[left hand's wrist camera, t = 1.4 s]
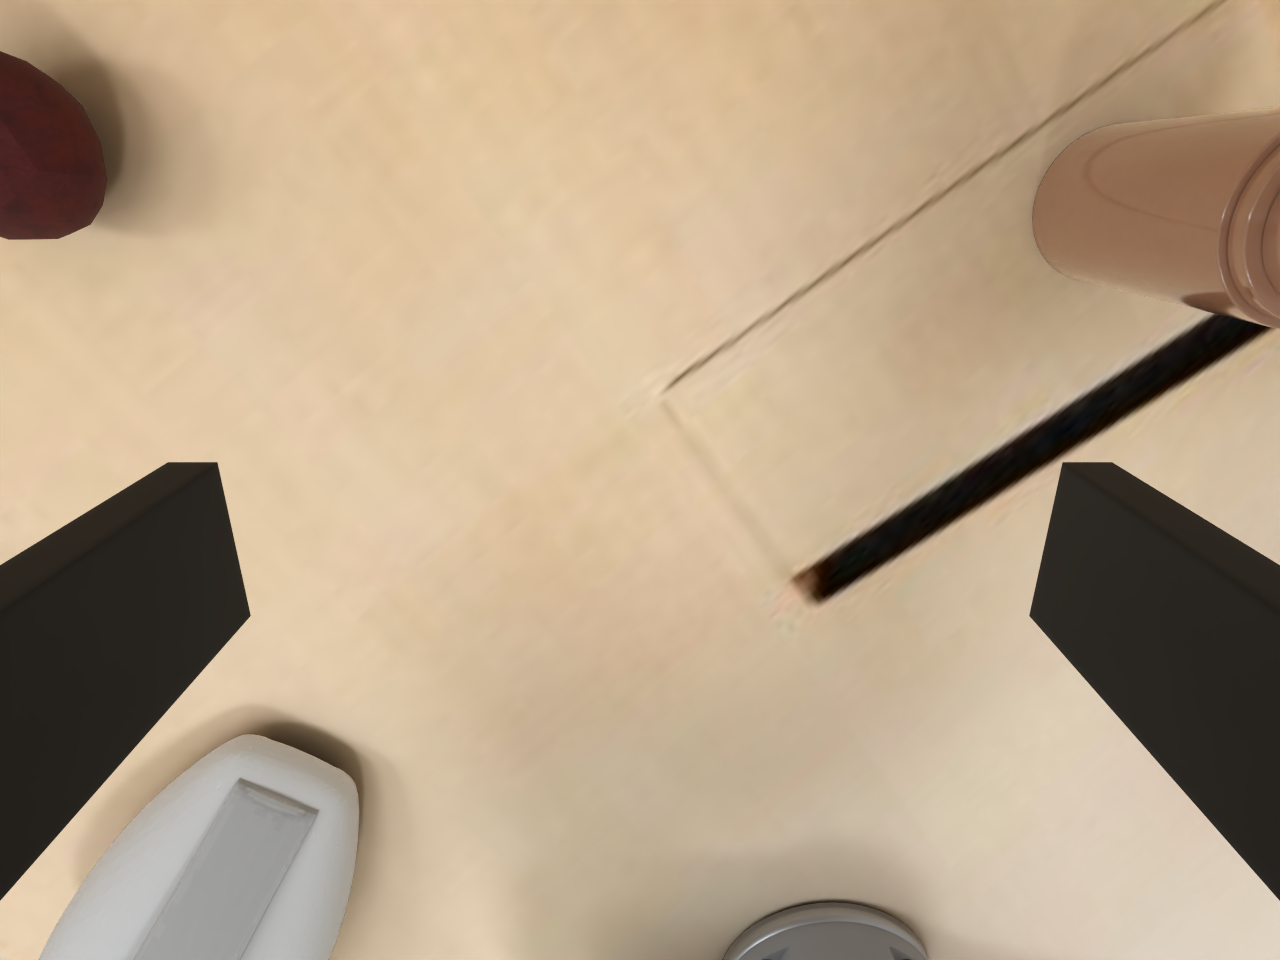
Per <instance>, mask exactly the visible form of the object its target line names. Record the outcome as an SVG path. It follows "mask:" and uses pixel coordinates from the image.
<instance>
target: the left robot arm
mask: <svg viewBox="0 0 1280 960" xmlns="http://www.w3.org/2000/svg"><path fill="white" fill-rule="evenodd" d="M250 616H251V615H250V611H249V606H248V602H247V597H246V592H245V588H244V583H243V579H242V574H241V569H240V565H239V560H238V555H237V551H236V546H235V542H234V537H233V532H232V528H231V523H230V519H229V514H228V509H227V505H226V500H225V496H224V491H223V486H222V482H221V477H220V473H219V468H218V463H217V462H168V463H166V464H165V465H163V466H161V467H160V468H158V469H156V470H155V471H153V472H152V473H150V474H148V475H147V476H145V477H143V478H142V479H140V480H139V481H137V482H135V483H134V484H132V485H130V486H129V487H127V488H125V489H124V490H122V491H121V492H119V493H117V494H116V495H114V496H112V497H111V498H109V499H108V500H106V501H104V502H103V503H101V504H99V505H98V506H96V507H95V508H93V509H91V510H90V511H88V512H86V513H85V514H83V515H81V516H80V517H78V518H77V519H75V520H73V521H72V522H70V523H68V524H67V525H65V526H64V527H62V528H60V529H59V530H57V531H55V532H54V533H52V534H51V535H49V536H47V537H46V538H44V539H42V540H41V541H39V542H37V543H36V544H34V545H33V546H31V547H29V548H28V549H26V550H24V551H23V552H21V553H20V554H18V555H16V556H15V557H13V558H11V559H10V560H8V561H7V562H5V563H3V564H2V565H0V900H1V899H2V898H3V897H4V896H5V895H6V893H7V892H8V891H9V890H10V889H11V888H12V887H13V885H14V884H15V883H16V882H17V881H18V880H19V879H20V877H21V876H22V875H23V874H24V873H25V872H26V871H27V870H28V868H29V867H30V866H31V865H32V864H33V863H34V862H35V860H36V859H37V858H38V857H39V856H40V855H41V854H42V852H43V851H44V850H45V849H46V848H47V847H48V846H49V844H50V843H51V842H52V841H53V840H54V839H55V838H56V837H57V835H58V834H59V833H60V832H61V831H62V830H63V829H64V827H65V826H66V825H67V824H68V823H69V822H70V821H71V819H72V818H73V817H74V816H75V815H76V814H77V813H78V812H79V810H80V809H81V808H82V807H83V806H84V805H85V804H86V802H87V801H88V800H89V799H90V798H91V797H92V796H93V794H94V793H95V792H96V791H97V790H98V789H99V788H100V786H101V785H102V784H103V783H104V782H105V781H106V780H107V779H108V777H109V776H110V775H111V774H112V773H113V772H114V771H115V769H116V768H117V767H118V766H119V765H120V764H121V763H122V761H123V760H124V759H125V758H126V757H127V756H128V755H129V753H130V752H131V751H132V750H133V749H134V748H135V747H136V746H137V744H138V743H139V742H140V741H141V740H142V739H143V738H144V736H145V735H146V734H147V733H148V732H149V731H150V730H151V728H152V727H153V726H154V725H155V724H156V723H157V722H158V721H159V719H160V718H161V717H162V716H163V715H164V714H165V713H166V711H167V710H168V709H169V708H170V707H171V706H172V705H173V703H174V702H175V701H176V700H177V699H178V698H179V697H180V695H181V694H182V693H183V692H184V691H185V690H186V689H187V688H188V686H189V685H190V684H191V683H192V682H193V681H194V680H195V678H196V677H197V676H198V675H199V674H200V673H201V672H202V670H203V669H204V668H205V667H206V666H207V665H208V664H209V662H210V661H211V660H212V659H213V658H214V657H215V656H216V655H217V653H218V652H219V651H220V650H221V649H222V648H223V647H224V645H225V644H226V643H227V642H228V641H229V640H230V639H231V637H232V636H233V635H234V634H235V633H236V632H237V631H238V630H239V628H240V627H241V626H242V625H243V624H244V623H245V622H246V620H247V619H248V618H249V617H250ZM1029 616H1030V617H1031V618H1032V619H1033V620H1034V622H1035V623H1036V624H1037V625H1038V626H1039V627H1040V628H1041V630H1042V631H1043V632H1044V633H1045V634H1046V635H1047V636H1048V637H1049V639H1050V640H1051V641H1052V642H1053V643H1054V644H1055V645H1056V647H1057V648H1058V649H1059V650H1060V651H1061V652H1062V653H1063V655H1064V656H1065V657H1066V658H1067V659H1068V660H1069V661H1070V662H1071V664H1072V665H1073V666H1074V667H1075V668H1076V669H1077V670H1078V672H1079V673H1080V674H1081V675H1082V676H1083V677H1084V678H1085V680H1086V681H1087V682H1088V683H1089V684H1090V685H1091V686H1092V688H1093V689H1094V690H1095V691H1096V692H1097V693H1098V694H1099V695H1100V697H1101V698H1102V699H1103V700H1104V701H1105V702H1106V703H1107V705H1108V706H1109V707H1110V708H1111V709H1112V710H1113V711H1114V713H1115V714H1116V715H1117V716H1118V717H1119V718H1120V719H1121V721H1122V722H1123V723H1124V724H1125V725H1126V726H1127V727H1128V728H1129V730H1130V731H1131V732H1132V733H1133V734H1134V735H1135V736H1136V738H1137V739H1138V740H1139V741H1140V742H1141V743H1142V744H1143V746H1144V747H1145V748H1146V749H1147V750H1148V751H1149V752H1150V753H1151V755H1152V756H1153V757H1154V758H1155V759H1156V760H1157V761H1158V763H1159V764H1160V765H1161V766H1162V767H1163V768H1164V769H1165V771H1166V772H1167V773H1168V774H1169V775H1170V776H1171V777H1172V779H1173V780H1174V781H1175V782H1176V783H1177V784H1178V785H1179V786H1180V788H1181V789H1182V790H1183V791H1184V792H1185V793H1186V794H1187V796H1188V797H1189V798H1190V799H1191V800H1192V801H1193V802H1194V804H1195V805H1196V806H1197V807H1198V808H1199V809H1200V810H1201V812H1202V813H1203V814H1204V815H1205V816H1206V817H1207V818H1208V819H1209V821H1210V822H1211V823H1212V824H1213V825H1214V826H1215V827H1216V829H1217V830H1218V831H1219V832H1220V833H1221V834H1222V835H1223V837H1224V838H1225V839H1226V840H1227V841H1228V842H1229V843H1230V844H1231V846H1232V847H1233V848H1234V849H1235V850H1236V851H1237V852H1238V854H1239V855H1240V856H1241V857H1242V858H1243V859H1244V860H1245V862H1246V863H1247V864H1248V865H1249V866H1250V867H1251V868H1252V870H1253V871H1254V872H1255V873H1256V874H1257V875H1258V876H1259V877H1260V879H1261V880H1262V881H1263V882H1264V883H1265V884H1266V885H1267V887H1268V888H1269V889H1270V890H1271V891H1272V892H1273V893H1274V895H1275V896H1276V897H1277V898H1278V899H1279V900H1280V565H1278V564H1277V563H1275V562H1273V561H1272V560H1270V559H1269V558H1267V557H1265V556H1264V555H1262V554H1260V553H1259V552H1257V551H1256V550H1254V549H1252V548H1251V547H1249V546H1247V545H1246V544H1244V543H1243V542H1241V541H1239V540H1238V539H1236V538H1234V537H1233V536H1231V535H1229V534H1228V533H1226V532H1225V531H1223V530H1221V529H1220V528H1218V527H1216V526H1215V525H1213V524H1212V523H1210V522H1208V521H1207V520H1205V519H1203V518H1202V517H1200V516H1199V515H1197V514H1195V513H1194V512H1192V511H1190V510H1189V509H1187V508H1185V507H1184V506H1182V505H1181V504H1179V503H1177V502H1176V501H1174V500H1172V499H1171V498H1169V497H1168V496H1166V495H1164V494H1163V493H1161V492H1159V491H1158V490H1156V489H1155V488H1153V487H1151V486H1150V485H1148V484H1146V483H1145V482H1143V481H1141V480H1140V479H1138V478H1137V477H1135V476H1133V475H1132V474H1130V473H1128V472H1127V471H1125V470H1124V469H1122V468H1120V467H1119V466H1117V465H1115V464H1114V463H1112V462H1063V463H1062V468H1061V473H1060V477H1059V482H1058V486H1057V491H1056V496H1055V500H1054V505H1053V509H1052V514H1051V519H1050V523H1049V528H1048V532H1047V537H1046V542H1045V546H1044V551H1043V555H1042V560H1041V565H1040V569H1039V574H1038V579H1037V583H1036V588H1035V592H1034V597H1033V602H1032V606H1031V611H1030V615H1029ZM723 960H928V959H927V956H926V953H925V950H924V948H923V946H922V944H921V942H920V941H919V939H918V938H917V936H916V935H915V934H914V933H913V932H912V931H911V930H910V929H909V928H908V927H907V926H906V925H904V924H903V923H902V922H900V921H899V920H897V919H896V918H894V917H892V916H890V915H888V914H886V913H884V912H882V911H879V910H876V909H873V908H870V907H866V906H862V905H856V904H849V903H834V902H830V903H815V904H807V905H802V906H797V907H793V908H789V909H786V910H783V911H780V912H778V913H775V914H773V915H771V916H768V917H767V918H765V919H763V920H761V921H759V922H757V923H756V924H754V925H753V926H751V927H750V928H749V929H747V930H746V931H745V932H744V933H742V934H741V935H740V936H739V937H738V938H737V939H736V940H735V941H734V943H733V944H732V945H731V946H730V948H729V949H728V951H727V952H726V954H725V956H724V958H723Z"/></svg>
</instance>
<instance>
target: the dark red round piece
mask: <svg viewBox="0 0 1280 960" xmlns="http://www.w3.org/2000/svg"><path fill="white" fill-rule="evenodd" d="M106 181H107V177H106V172H105V167H104V161H103V156H102V151H101V146H100V141H99V139H98V137H97V135H96V133H95V131H94V129H93V127H92V125H91V123H90V121H89V119H88V117H87V115H86V113H85V111H84V109H83V107H82V106H81V105H80V104H79V103H78V102H77V101H76V100H75V99H74V98H73V97H72V96H71V95H70V94H69V93H68V92H67V91H66V90H65V89H64V88H63V87H62V86H61V85H60V84H59V83H57V82H56V81H55V80H53V79H52V78H50V77H49V76H47V75H46V74H44V73H43V72H41V71H40V70H38V69H37V68H35V67H34V66H33V65H31V64H30V63H28V62H27V61H24V60H21V59H19V58H16V57H14V56H11V55H8V54H6V53H3V52H1V51H0V237H3V238H6V239H59V238H61V237H64V236H66V235H69V234H71V233H73V232H75V231H78V230H80V229H82V228H84V227H86V226H88V225H90V224H91V223H92V221H93V220H94V218H95V217H96V215H97V213H98V212H99V210H100V209H101V207H102V205H103V201H104V195H105V188H106Z"/></svg>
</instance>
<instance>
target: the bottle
mask: <svg viewBox="0 0 1280 960" xmlns="http://www.w3.org/2000/svg"><path fill="white" fill-rule="evenodd" d="M1033 230H1034V235H1035V239H1036V242H1037V245H1038V248H1039V250H1040V251H1041V253H1042V255H1043V256H1044V258H1045V259H1046V261H1047V262H1048V263H1049V264H1050V265H1051V266H1052V267H1053V268H1054V269H1056V270H1057V271H1059V272H1060V273H1062V274H1064V275H1066V276H1068V277H1070V278H1073V279H1076V280H1080V281H1085V282H1089V283H1093V284H1097V285H1101V286H1105V287H1109V288H1113V289H1117V290H1121V291H1125V292H1130V293H1134V294H1138V295H1142V296H1146V297H1150V298H1154V299H1158V300H1162V301H1166V302H1170V303H1175V304H1179V305H1183V306H1187V307H1191V308H1195V309H1199V310H1203V311H1207V312H1211V313H1215V314H1220V315H1224V316H1228V317H1232V318H1236V319H1240V320H1244V321H1248V322H1252V323H1256V324H1260V325H1265V326H1269V327H1273V328H1279V329H1280V107H1276V108H1266V109H1257V110H1247V111H1237V112H1227V113H1218V114H1208V115H1198V116H1188V117H1179V118H1169V119H1159V120H1150V121H1140V122H1130V123H1120V124H1112V125H1108V126H1104V127H1101V128H1098V129H1096V130H1093V131H1091V132H1089V133H1087V134H1085V135H1083V136H1082V137H1080V138H1079V139H1077V140H1076V141H1074V142H1073V143H1072V144H1071V145H1070V146H1068V147H1067V148H1066V149H1065V150H1064V151H1063V152H1062V153H1061V154H1060V155H1059V156H1058V157H1057V158H1056V160H1055V161H1054V162H1053V164H1052V165H1051V166H1050V168H1049V169H1048V171H1047V173H1046V174H1045V176H1044V178H1043V180H1042V182H1041V184H1040V186H1039V189H1038V192H1037V195H1036V198H1035V203H1034V208H1033Z"/></svg>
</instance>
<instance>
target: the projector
mask: <svg viewBox="0 0 1280 960" xmlns="http://www.w3.org/2000/svg"><path fill="white" fill-rule="evenodd" d="M358 831H359V801H358V793H357V788H356V785H355V783H354V781H353V780H352V778H351V777H350V776H349V775H348V774H347V773H345V772H344V771H342V770H341V769H339V768H336V767H334V766H332V765H330V764H328V763H326V762H324V761H322V760H320V759H318V758H316V757H314V756H312V755H310V754H308V753H305V752H303V751H301V750H298V749H296V748H293V747H291V746H288V745H286V744H283V743H280V742H277V741H274V740H271V739H268V738H267V737H264V736H260V735H254V734H247V735H241V736H238V737H235V738H233V739H231V740H229V741H227V742H226V743H224V744H222V745H221V746H219V747H217V748H216V749H214V750H213V751H211V752H210V753H208V754H207V755H206V756H204V757H203V758H201V759H200V760H199V761H197V762H196V763H195V764H194V765H192V766H191V767H190V768H188V769H187V770H186V771H184V772H183V773H182V774H181V775H179V776H178V777H177V778H176V779H175V780H174V781H173V782H171V783H170V784H169V785H168V786H167V787H166V788H164V789H163V790H162V791H161V792H160V793H159V794H158V795H157V796H156V797H155V798H154V799H153V800H151V801H150V802H149V803H148V804H147V805H146V806H145V807H144V808H143V809H142V810H141V811H140V813H139V814H138V815H137V816H136V817H135V818H134V819H133V820H132V821H131V822H130V823H129V824H128V825H127V826H126V827H125V828H124V830H123V831H122V832H121V833H120V834H119V836H118V837H117V838H116V839H115V840H114V842H113V843H112V844H111V845H110V846H109V848H108V849H107V850H106V851H105V853H104V854H103V855H102V857H101V858H100V859H99V861H98V862H97V863H96V865H95V866H94V867H93V869H92V870H91V872H90V873H89V874H88V876H87V877H86V879H85V880H84V882H83V883H82V885H81V886H80V888H79V889H78V891H77V892H76V894H75V895H74V897H73V898H72V900H71V901H70V903H69V904H68V906H67V908H66V909H65V911H64V913H63V914H62V916H61V918H60V919H59V921H58V923H57V925H56V926H55V928H54V930H53V932H52V934H51V936H50V938H49V939H48V941H47V943H46V945H45V947H44V949H43V951H42V953H41V955H40V958H39V960H329V958H330V956H331V953H332V951H333V948H334V945H335V943H336V940H337V937H338V934H339V931H340V928H341V925H342V921H343V918H344V915H345V912H346V908H347V904H348V899H349V895H350V890H351V886H352V881H353V875H354V870H355V862H356V854H357V845H358Z"/></svg>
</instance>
